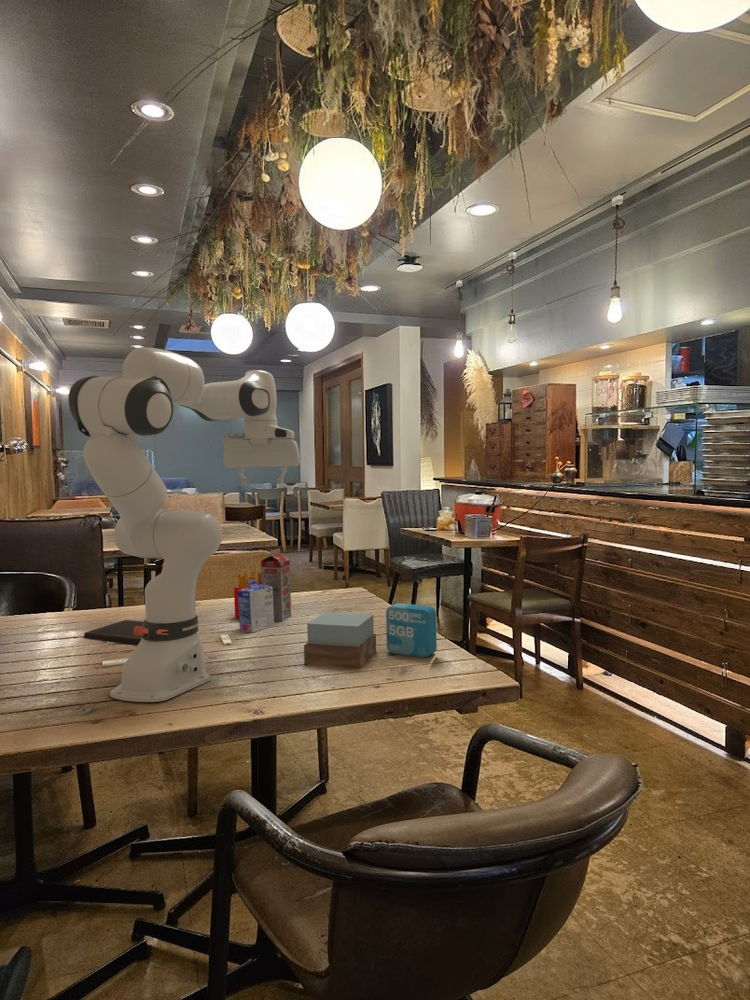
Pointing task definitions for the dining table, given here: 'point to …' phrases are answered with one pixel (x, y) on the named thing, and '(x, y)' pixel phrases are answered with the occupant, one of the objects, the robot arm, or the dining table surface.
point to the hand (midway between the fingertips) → (262, 484)
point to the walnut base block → (339, 654)
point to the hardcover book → (117, 632)
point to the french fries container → (243, 585)
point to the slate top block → (340, 629)
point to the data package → (411, 630)
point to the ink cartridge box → (255, 607)
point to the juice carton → (278, 583)
